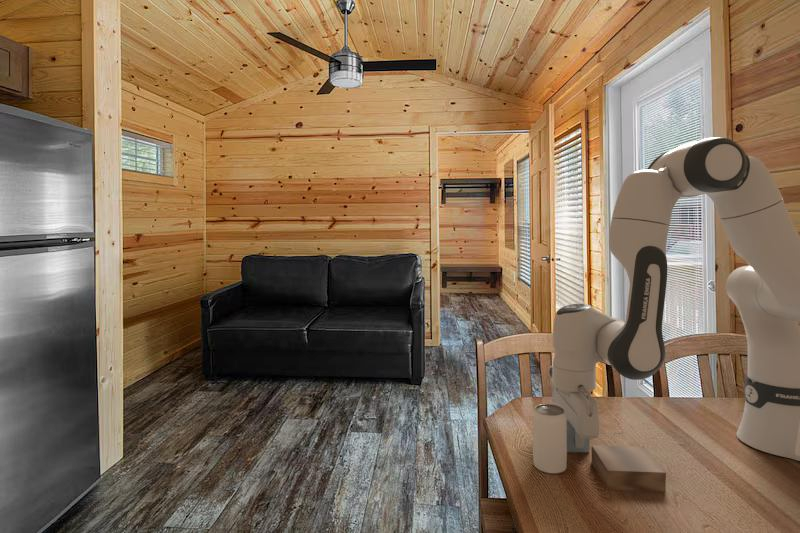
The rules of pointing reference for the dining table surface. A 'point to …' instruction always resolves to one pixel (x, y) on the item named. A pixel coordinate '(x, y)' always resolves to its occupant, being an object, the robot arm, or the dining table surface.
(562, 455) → the can
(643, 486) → the walnut block
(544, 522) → the dining table surface
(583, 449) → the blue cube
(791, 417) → the robot arm
